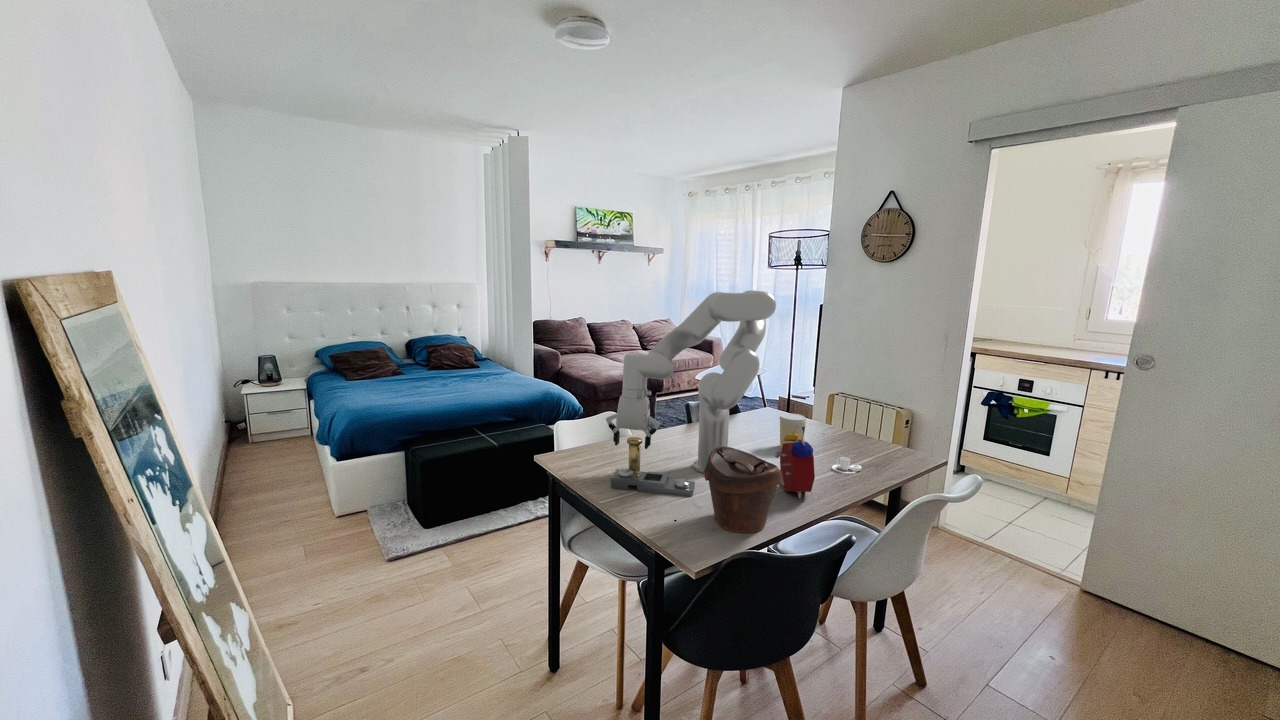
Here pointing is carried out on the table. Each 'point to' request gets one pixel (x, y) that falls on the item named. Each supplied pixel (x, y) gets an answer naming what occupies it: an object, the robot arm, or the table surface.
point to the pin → (634, 453)
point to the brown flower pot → (741, 488)
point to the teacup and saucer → (846, 465)
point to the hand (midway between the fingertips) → (631, 446)
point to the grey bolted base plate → (651, 482)
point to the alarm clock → (797, 464)
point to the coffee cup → (791, 426)
